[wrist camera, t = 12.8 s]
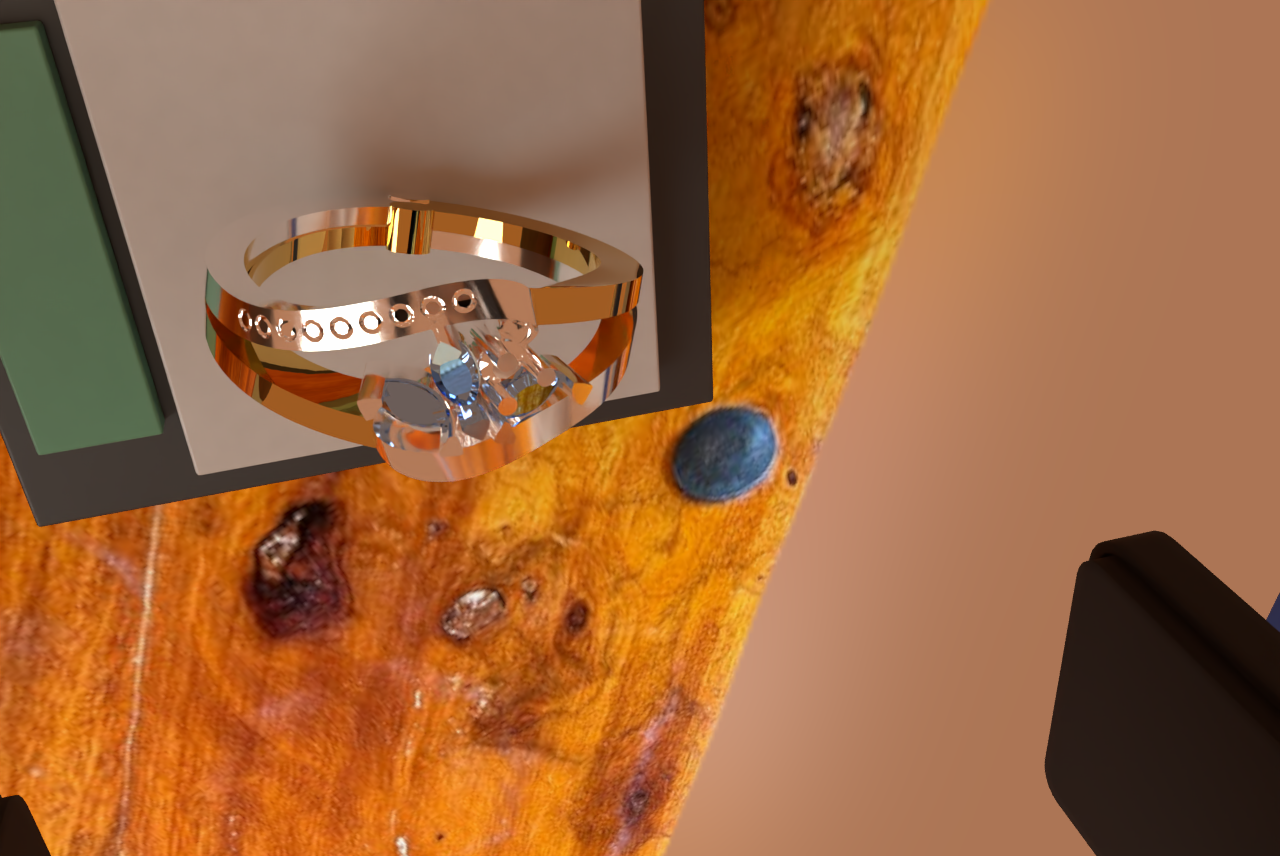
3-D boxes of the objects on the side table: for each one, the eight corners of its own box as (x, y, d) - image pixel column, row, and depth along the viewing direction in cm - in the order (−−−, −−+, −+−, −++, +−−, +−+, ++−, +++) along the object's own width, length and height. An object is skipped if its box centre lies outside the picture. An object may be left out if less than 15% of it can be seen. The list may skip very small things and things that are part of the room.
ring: (593, 151, 23) (728, 316, 16) (567, 302, 24) (681, 511, 17) (214, 108, 20) (189, 279, 14) (211, 277, 22) (186, 506, 15)
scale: (656, -174, 24) (715, -163, 20) (677, 348, 30) (725, 418, 27) (-153, -111, 21) (-229, -87, 17) (58, 456, 27) (31, 551, 24)
